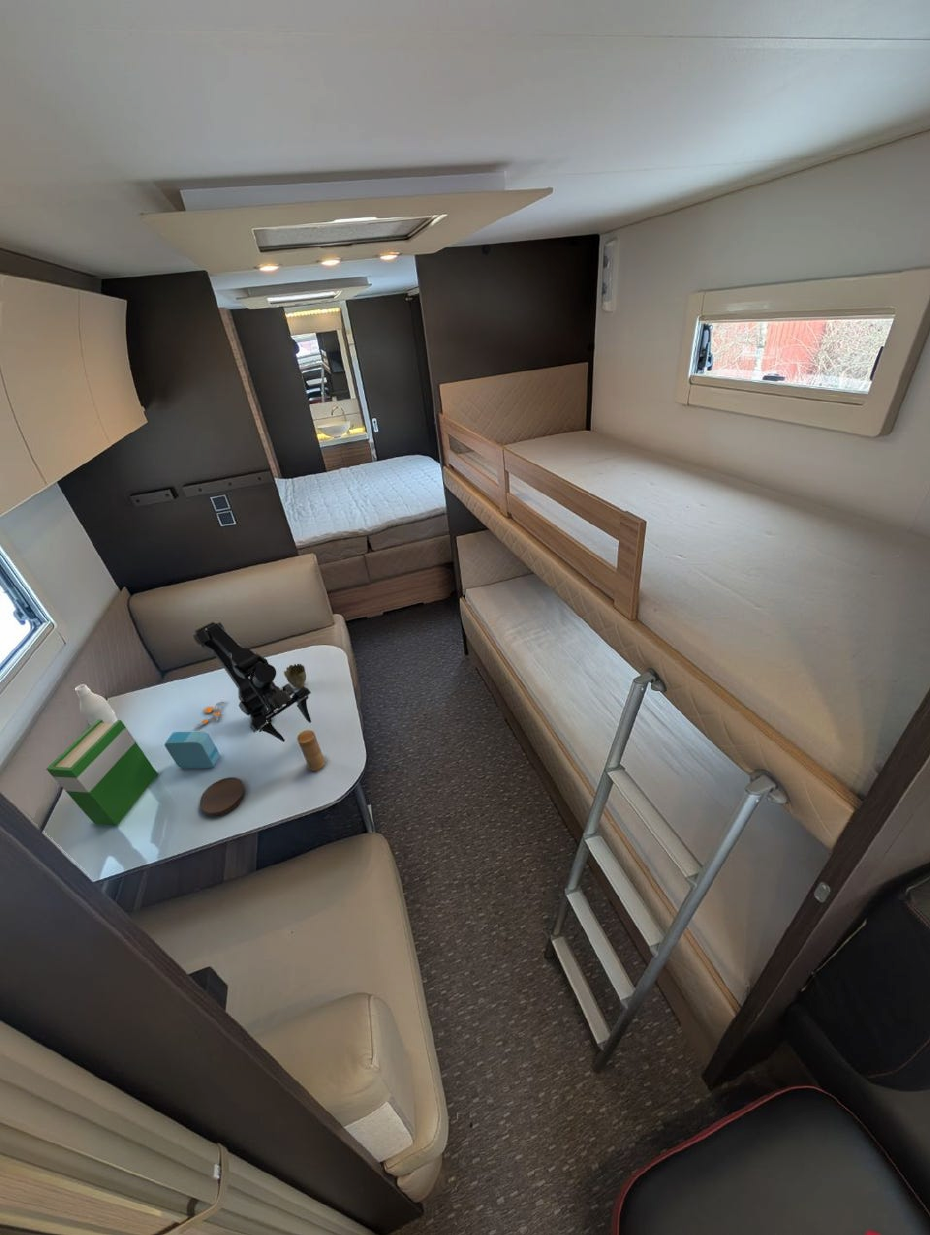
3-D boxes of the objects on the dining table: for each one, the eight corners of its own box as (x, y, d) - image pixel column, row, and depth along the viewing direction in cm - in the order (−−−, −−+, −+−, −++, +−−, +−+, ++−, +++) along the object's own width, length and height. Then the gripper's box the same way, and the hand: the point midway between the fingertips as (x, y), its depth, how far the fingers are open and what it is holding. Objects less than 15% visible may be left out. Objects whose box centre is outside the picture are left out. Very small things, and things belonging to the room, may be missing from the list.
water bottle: (133, 740, 163) (96, 685, 149) (110, 753, 159) (69, 698, 145) (127, 730, 167) (90, 676, 154) (104, 743, 163) (64, 688, 149)
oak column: (308, 761, 148) (296, 733, 141) (324, 755, 149) (313, 727, 143) (309, 773, 144) (297, 745, 137) (326, 767, 145) (315, 739, 139)
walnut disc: (204, 790, 143) (201, 785, 141) (246, 775, 146) (243, 771, 144) (200, 823, 133) (197, 819, 132) (245, 807, 136) (243, 803, 135)
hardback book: (137, 773, 151) (98, 719, 137) (158, 774, 149) (120, 719, 136) (94, 824, 136) (46, 769, 123) (116, 825, 135) (70, 770, 122)
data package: (221, 756, 153) (207, 730, 146) (215, 768, 149) (199, 742, 143) (186, 757, 154) (170, 731, 147) (179, 769, 150) (162, 743, 144)
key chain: (209, 703, 175) (208, 702, 175) (228, 702, 175) (228, 700, 174) (193, 729, 164) (192, 728, 164) (214, 727, 164) (213, 726, 164)
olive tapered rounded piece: (304, 693, 175) (298, 676, 171) (286, 692, 177) (279, 675, 172) (313, 680, 181) (307, 663, 177) (296, 678, 183) (290, 662, 178)
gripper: (240, 701, 132) (274, 747, 131) (298, 665, 143) (329, 707, 143) (237, 710, 141) (268, 753, 140) (291, 676, 152) (320, 715, 151)
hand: (297, 731), depth 143 cm, fingers open, 9 cm apart
